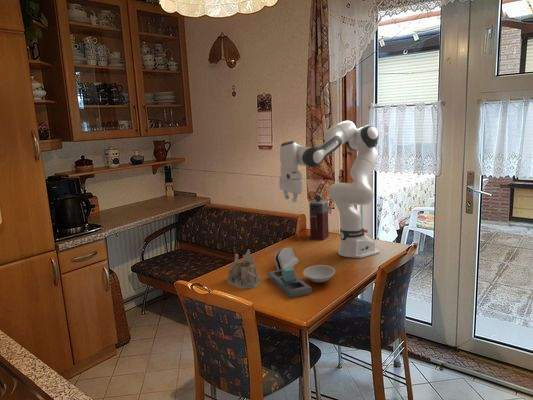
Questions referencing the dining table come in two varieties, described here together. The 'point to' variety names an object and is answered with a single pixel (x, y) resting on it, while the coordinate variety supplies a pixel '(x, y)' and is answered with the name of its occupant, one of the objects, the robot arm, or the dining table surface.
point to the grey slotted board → (290, 285)
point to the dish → (319, 273)
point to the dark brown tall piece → (319, 218)
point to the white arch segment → (285, 258)
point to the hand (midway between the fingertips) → (290, 200)
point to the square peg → (288, 274)
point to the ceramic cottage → (243, 272)
